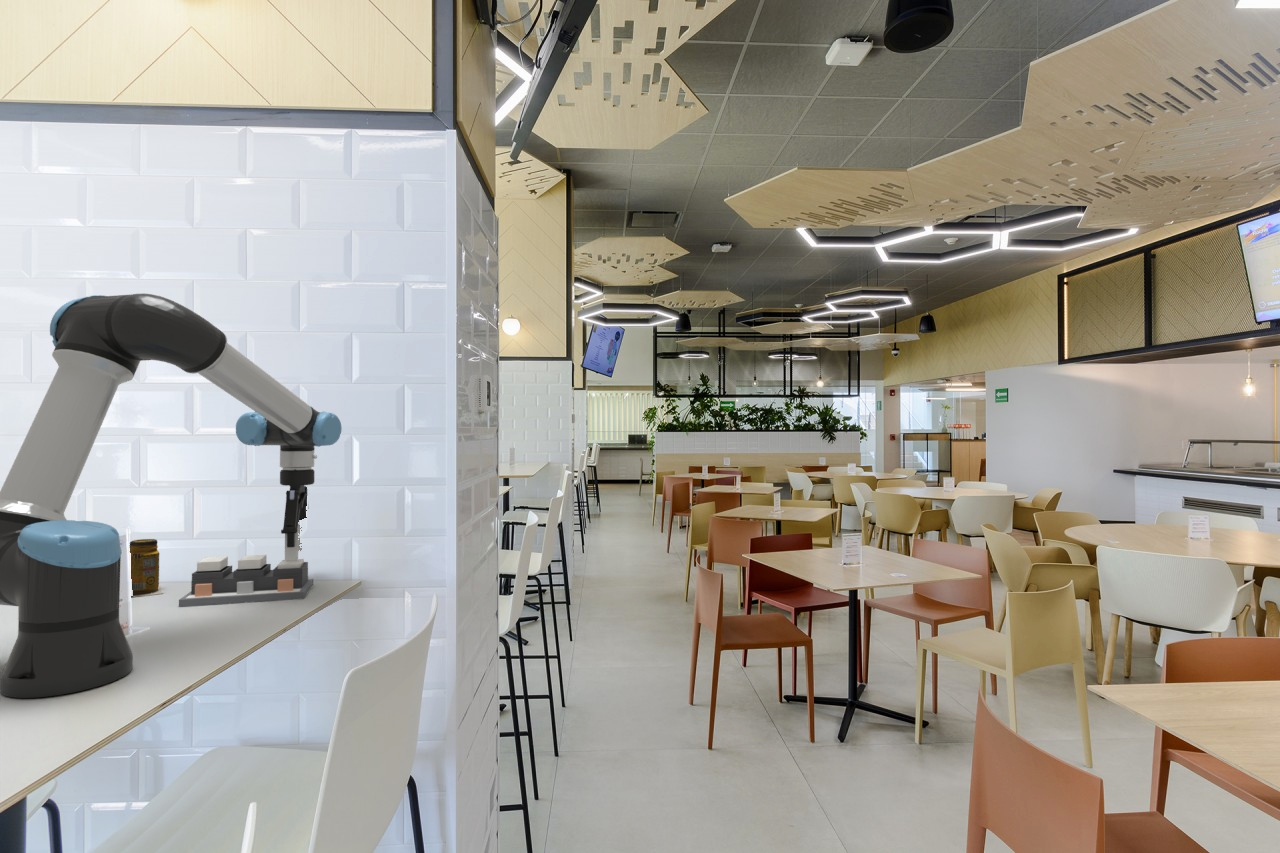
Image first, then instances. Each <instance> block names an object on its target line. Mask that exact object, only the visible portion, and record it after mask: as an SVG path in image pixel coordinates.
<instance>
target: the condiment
mask: <svg viewBox="0 0 1280 853" xmlns="http://www.w3.org/2000/svg"><path fill="white" fill-rule="evenodd" d="M129 544H130V545H129V548H130V551H129V552H130V553H131V579H132V590H133V597H132V598H135V597H137V598H138V597H145V596H146V597H149V596H152V595H160V594H164V592H163V590H162V587H161V586H160V585H159V584H160V551H159V550H158V539H155V538H143V539H135V540H131V541H130V542H129Z"/></svg>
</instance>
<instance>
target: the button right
mask: <svg viewBox="0 0 1280 853" xmlns="http://www.w3.org/2000/svg"><path fill="white" fill-rule="evenodd" d="M304 562H305V558H298V561H285V559H283V560H281V561H280V562H279V563H278V564H277V566H278V569H288V568H301V567H302V566H303V565H304Z"/></svg>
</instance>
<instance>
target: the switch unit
mask: <svg viewBox="0 0 1280 853" xmlns="http://www.w3.org/2000/svg"><path fill="white" fill-rule="evenodd" d="M190 582H191V587H190V588H191V589H190V590H191V591H189V592H188V593H187V594H185V595H184V596H181V598H179V599H178V608H179V607H180V608H182V607H197V606H198V607H199V606H215V605H227V604H228V605H229V603H231V604H243V602H247V603H257V602H258V603H260V602H274V601H275V602H277V601H290V600H303V599H304V598H305V597H306V596H307V595H308V593H309V592H310V590H311V589H312V588H313V586H314V578H309V562H308V561H304V565H303V566H302V567H301V568H288V569H278V565H276V566H275V568H273V569H272V568H271V563H266V564H265V565H264V566H263V567H261V568H257V569H238V568H236V569H234V571H233V565H227V566H226V567H224V568H223V569H221V570H217V571H197V570H196V571H194V572H192V573H191V581H190Z"/></svg>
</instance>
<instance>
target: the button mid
mask: <svg viewBox="0 0 1280 853" xmlns="http://www.w3.org/2000/svg"><path fill="white" fill-rule="evenodd" d="M265 564H267V554H255V555H253V554H252V555H244V556H242V557H241V558H239V559H238V560H237V569H257V568H261V567H263V566H264V565H265Z"/></svg>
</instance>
